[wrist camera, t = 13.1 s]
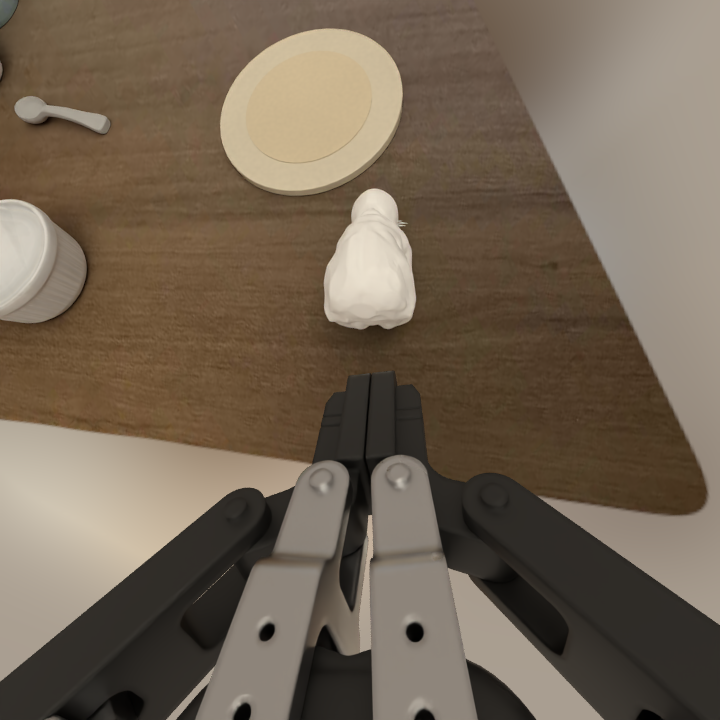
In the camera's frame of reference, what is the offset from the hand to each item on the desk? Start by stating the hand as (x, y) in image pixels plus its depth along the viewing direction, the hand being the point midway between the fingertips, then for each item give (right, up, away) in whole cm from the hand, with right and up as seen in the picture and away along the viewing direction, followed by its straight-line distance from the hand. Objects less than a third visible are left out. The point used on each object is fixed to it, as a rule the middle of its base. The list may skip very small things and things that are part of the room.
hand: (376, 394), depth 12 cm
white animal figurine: (+1, +8, +19) cm, 21 cm away
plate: (-5, +25, +24) cm, 35 cm away
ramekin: (-32, +9, +25) cm, 42 cm away
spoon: (-33, +28, +29) cm, 52 cm away
